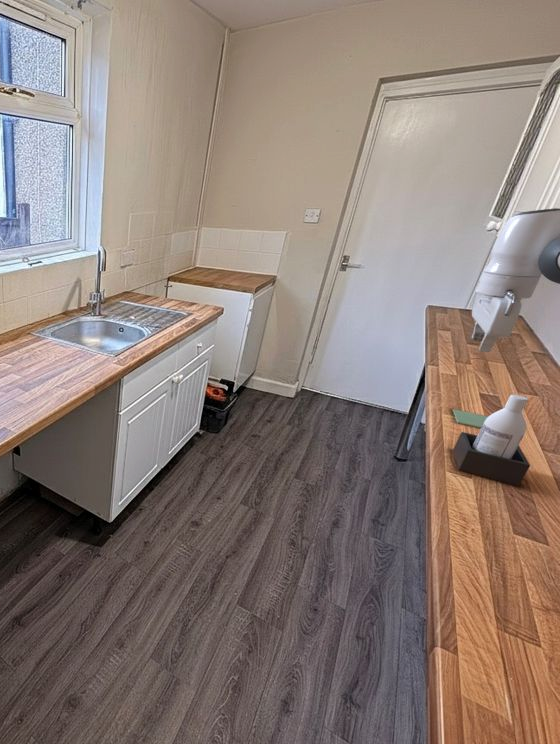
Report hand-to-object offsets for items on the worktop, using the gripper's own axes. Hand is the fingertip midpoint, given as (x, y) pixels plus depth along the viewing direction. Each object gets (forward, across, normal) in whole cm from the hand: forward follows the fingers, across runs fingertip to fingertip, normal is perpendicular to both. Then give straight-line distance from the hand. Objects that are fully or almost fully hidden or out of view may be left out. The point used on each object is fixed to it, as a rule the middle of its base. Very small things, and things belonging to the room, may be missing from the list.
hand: (479, 345), depth 97 cm
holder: (+31, 0, -10) cm, 32 cm away
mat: (+31, +32, -13) cm, 46 cm away
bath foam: (+31, 0, -10) cm, 33 cm away
